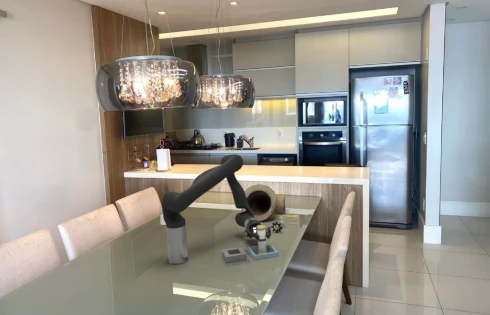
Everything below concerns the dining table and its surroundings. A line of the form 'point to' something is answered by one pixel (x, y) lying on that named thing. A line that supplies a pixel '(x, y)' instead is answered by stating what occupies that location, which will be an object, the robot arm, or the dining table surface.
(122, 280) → the dining table surface
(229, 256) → the block
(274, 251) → the parts tray
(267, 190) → the pipe
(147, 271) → the dining table surface
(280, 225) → the valve
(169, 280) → the dining table surface
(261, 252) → the capped white cylinder
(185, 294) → the dining table surface
